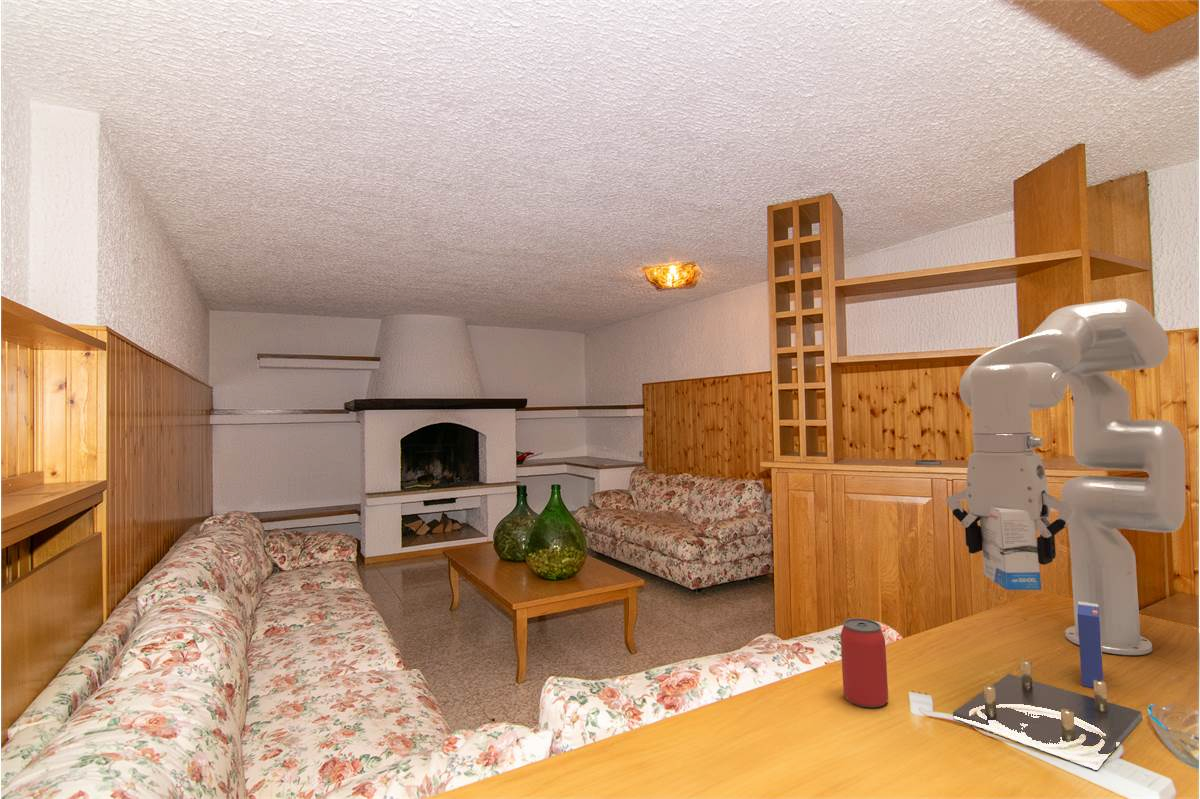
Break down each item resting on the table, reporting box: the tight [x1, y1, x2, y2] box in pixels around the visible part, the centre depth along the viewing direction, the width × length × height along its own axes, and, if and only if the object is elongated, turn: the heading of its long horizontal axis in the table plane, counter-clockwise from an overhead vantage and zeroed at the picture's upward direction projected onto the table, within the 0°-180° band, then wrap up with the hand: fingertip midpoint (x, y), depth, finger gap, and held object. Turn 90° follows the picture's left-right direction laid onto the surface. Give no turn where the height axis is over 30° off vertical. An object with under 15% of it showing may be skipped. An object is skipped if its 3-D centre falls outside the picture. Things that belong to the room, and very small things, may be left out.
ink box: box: [979, 507, 1042, 591], centre depth 92 cm, size 9×5×12 cm, turn 166°
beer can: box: [840, 617, 889, 708], centre depth 96 cm, size 7×7×12 cm
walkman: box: [1078, 601, 1104, 689], centre depth 100 cm, size 8×3×12 cm, turn 141°
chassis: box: [952, 659, 1143, 754], centre depth 88 cm, size 20×17×5 cm
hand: (1009, 557), depth 92 cm, fingers closed on ink box, 9 cm apart
